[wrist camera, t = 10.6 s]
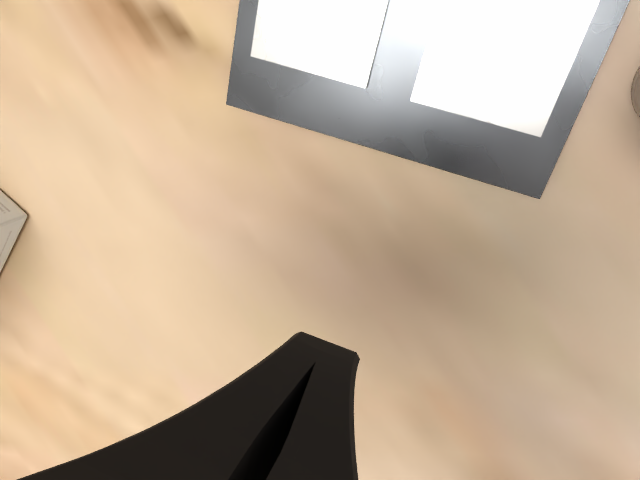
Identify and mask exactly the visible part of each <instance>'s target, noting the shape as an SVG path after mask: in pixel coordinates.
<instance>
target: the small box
mask: <svg viewBox="0 0 640 480" xmlns="http://www.w3.org/2000/svg"><path fill="white" fill-rule="evenodd" d="M26 218H27V215H26V213H25V212H24V211H23V210H22V209H20V208H19V207H18V206H17V205H16V204H15V203H14V202H13V201H12V200H11V199H10V198H8V197H7V196H6V195H5V194H4V193H3V192H2V191H1V190H0V272H1V270H2V268H3V266H4V264H5V262H6V260H7V258H8V255H9V253H10V251H11V249H12V247H13V245H14V243H15V241H16V239H17V237H18V235H19V233H20V231H21V229H22V226H23V224H24V222H25V220H26Z"/></svg>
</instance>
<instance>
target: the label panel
mask: <svg viewBox="0 0 640 480" xmlns="http://www.w3.org/2000/svg"><path fill="white" fill-rule="evenodd" d="M629 1H630V0H240V2H239V10H238V17H237V25H236V33H235V40H234V48H233V56H232V63H231V71H230V79H229V86H228V94H227V101H226V104H227V105H230V106H233V107H237V108H240V109H243V110H246V111H250V112H253V113H256V114H260V115H263V116H266V117H270V118H273V119H276V120H280V121H283V122H286V123H290V124H293V125H296V126H299V127H303V128H306V129H309V130H313V131H316V132H319V133H323V134H326V135H329V136H333V137H336V138H339V139H343V140H346V141H349V142H352V143H356V144H359V145H362V146H366V147H369V148H372V149H376V150H379V151H382V152H386V153H389V154H392V155H395V156H399V157H402V158H405V159H409V160H412V161H415V162H419V163H422V164H425V165H429V166H432V167H435V168H439V169H442V170H445V171H448V172H452V173H455V174H458V175H462V176H465V177H468V178H472V179H475V180H478V181H482V182H485V183H488V184H492V185H495V186H498V187H501V188H505V189H508V190H511V191H515V192H518V193H521V194H525V195H528V196H531V197H535V198H538V199H540V197H541V195H542V193H543V191H544V188H545V186H546V184H547V182H548V180H549V177H550V175H551V173H552V171H553V168H554V166H555V164H556V162H557V160H558V157H559V155H560V153H561V151H562V149H563V146H564V144H565V142H566V140H567V138H568V135H569V133H570V131H571V129H572V127H573V124H574V122H575V120H576V118H577V116H578V113H579V111H580V109H581V107H582V105H583V102H584V100H585V98H586V96H587V94H588V91H589V89H590V87H591V85H592V83H593V80H594V78H595V76H596V74H597V72H598V69H599V67H600V65H601V63H602V61H603V58H604V56H605V54H606V52H607V50H608V47H609V45H610V43H611V41H612V39H613V36H614V34H615V32H616V30H617V28H618V25H619V23H620V21H621V19H622V17H623V14H624V12H625V10H626V8H627V6H628V3H629Z"/></svg>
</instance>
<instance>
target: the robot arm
mask: <svg viewBox="0 0 640 480" xmlns="http://www.w3.org/2000/svg"><path fill="white" fill-rule="evenodd" d="M359 360H360V358H359V357H358V355H357V353H356V352H354V351H351V350H348V349H346V348H343V347H340V346H338V345H335V344H333V343H330V342H327V341H325V340H322V339H320V338H317V337H314V336H312V335H309V334H306V333H304V332H299V333H296V334H295V335H293V336H292V337H291V338H290V339H289V340H288V341H286V342H285V343H284V344H283V345H282V346H280V347H279V348H278V349H277V350H275V351H274V352H273V353H271V354H270V355H269V356H267V357H266V358H265V359H263V360H262V361H261V362H259V363H258V364H257V365H255V366H254V367H252V368H251V369H249V370H248V371H246V372H245V373H243V374H242V375H241V376H239V377H238V378H236V379H235V380H233V381H232V382H230V383H229V384H227V385H226V386H224V387H222V388H221V389H219V390H217V391H216V392H214V393H212V394H211V395H209V396H207V397H206V398H204V399H202V400H201V401H199V402H197V403H196V404H194V405H192V406H190V407H189V408H187V409H185V410H183V411H181V412H180V413H178V414H176V415H174V416H172V417H170V418H168V419H166V420H164V421H162V422H160V423H158V424H156V425H154V426H152V427H150V428H148V429H146V430H144V431H142V432H139V433H137V434H135V435H133V436H130V437H128V438H126V439H123V440H121V441H119V442H117V443H114V444H112V445H110V446H108V447H105V448H103V449H100V450H98V451H95V452H93V453H90V454H88V455H85V456H83V457H80V458H77V459H75V460H72V461H69V462H66V463H63V464H60V465H57V466H55V467H52V468H49V469H46V470H43V471H40V472H37V473H35V474H32V475H29V476H26V477H23V478H20V479H17V480H358V473H357V463H356V453H355V438H354V387H355V378H356V371H357V367H358V363H359Z"/></svg>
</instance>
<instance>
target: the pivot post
mask: <svg viewBox="0 0 640 480" xmlns="http://www.w3.org/2000/svg"><path fill="white" fill-rule="evenodd" d="M631 98H632V104H633V107H634V109H635V111H636V113H637V114H638V116H639V117H640V67H639V69H638V71H637V72H636V75H635V77H634V80H633V83H632V89H631Z"/></svg>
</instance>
